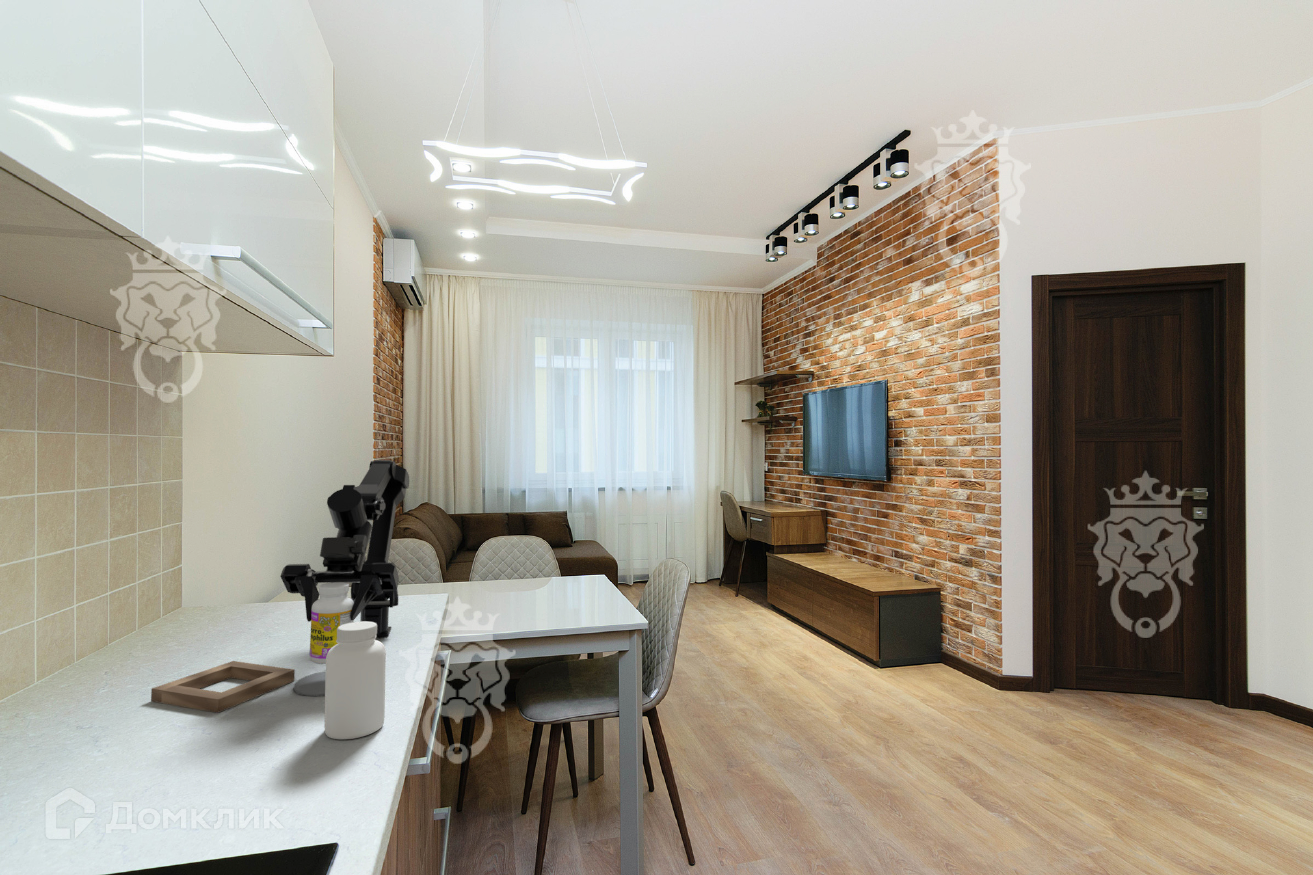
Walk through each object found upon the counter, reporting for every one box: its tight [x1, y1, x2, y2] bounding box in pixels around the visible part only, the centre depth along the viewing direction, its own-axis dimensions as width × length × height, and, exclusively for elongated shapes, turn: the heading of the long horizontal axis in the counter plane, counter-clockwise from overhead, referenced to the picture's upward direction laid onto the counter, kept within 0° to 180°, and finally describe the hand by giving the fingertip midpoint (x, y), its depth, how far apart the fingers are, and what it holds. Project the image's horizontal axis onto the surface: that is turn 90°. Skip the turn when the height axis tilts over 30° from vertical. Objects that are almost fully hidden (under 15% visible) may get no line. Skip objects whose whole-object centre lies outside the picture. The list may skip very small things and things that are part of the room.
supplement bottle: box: [309, 582, 355, 665], centre depth 107 cm, size 7×7×13 cm
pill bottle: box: [323, 621, 387, 740], centre depth 90 cm, size 8×8×15 cm
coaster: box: [293, 670, 326, 697], centre depth 107 cm, size 11×11×1 cm
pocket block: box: [150, 660, 296, 713], centre depth 103 cm, size 14×14×2 cm
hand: (330, 619), depth 106 cm, fingers closed on supplement bottle, 7 cm apart
